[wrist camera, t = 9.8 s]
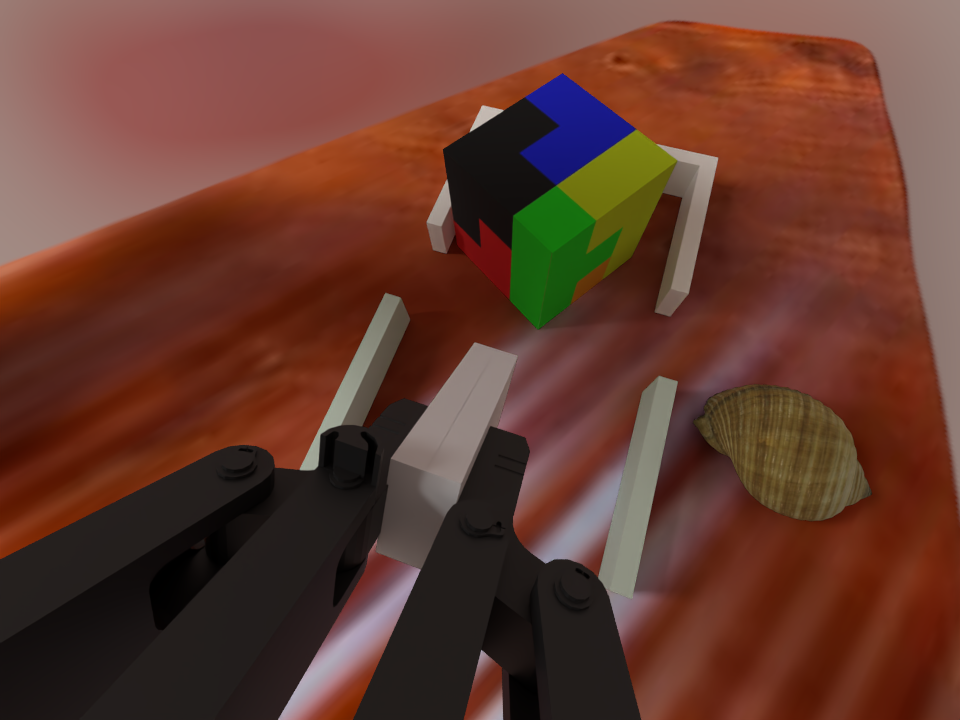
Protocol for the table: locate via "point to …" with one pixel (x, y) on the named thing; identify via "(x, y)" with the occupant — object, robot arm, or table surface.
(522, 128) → the puzzle toy
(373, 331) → the channel
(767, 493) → the seashell
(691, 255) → the bay
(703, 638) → the table surface
